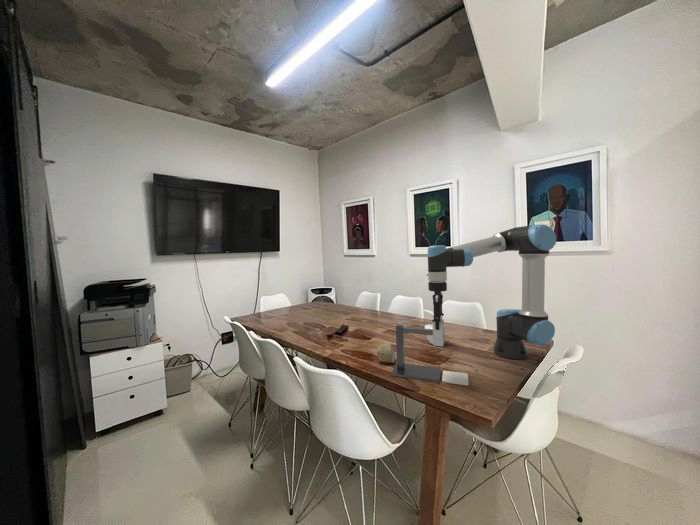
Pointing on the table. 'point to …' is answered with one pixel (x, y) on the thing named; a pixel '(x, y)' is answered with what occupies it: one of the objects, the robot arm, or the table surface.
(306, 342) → the table surface
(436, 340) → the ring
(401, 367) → the stand
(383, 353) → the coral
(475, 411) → the table surface
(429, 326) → the potted plant
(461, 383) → the pad
